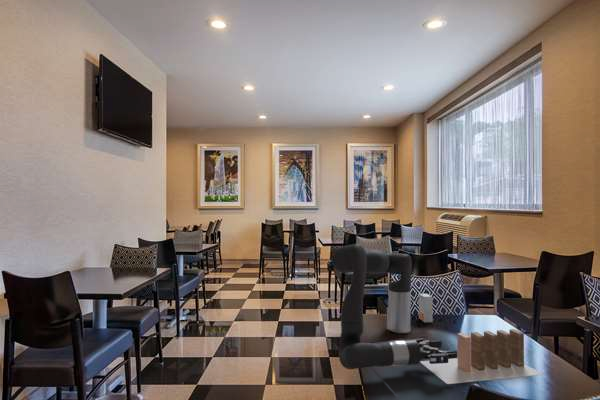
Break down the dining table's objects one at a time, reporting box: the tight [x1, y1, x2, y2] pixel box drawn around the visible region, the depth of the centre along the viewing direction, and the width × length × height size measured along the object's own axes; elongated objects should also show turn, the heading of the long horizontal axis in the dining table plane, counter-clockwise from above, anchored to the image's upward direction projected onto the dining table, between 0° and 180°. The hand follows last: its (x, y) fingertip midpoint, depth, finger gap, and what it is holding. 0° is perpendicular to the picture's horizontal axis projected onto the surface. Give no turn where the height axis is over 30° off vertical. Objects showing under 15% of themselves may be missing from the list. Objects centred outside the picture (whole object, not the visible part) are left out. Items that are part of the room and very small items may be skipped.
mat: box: [420, 357, 543, 385], centre depth 119 cm, size 34×16×1 cm, turn 101°
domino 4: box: [509, 329, 525, 367], centre depth 122 cm, size 2×4×11 cm, turn 11°
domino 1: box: [470, 331, 485, 371], centre depth 119 cm, size 2×4×11 cm, turn 11°
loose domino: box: [456, 332, 471, 372], centre depth 118 cm, size 2×4×11 cm, turn 12°
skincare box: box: [418, 293, 434, 323], centre depth 170 cm, size 6×4×12 cm
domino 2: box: [483, 330, 498, 369], centre depth 120 cm, size 2×4×11 cm, turn 11°
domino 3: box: [496, 329, 511, 368], centre depth 121 cm, size 2×4×11 cm, turn 11°
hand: (448, 348), depth 117 cm, fingers open, 8 cm apart
